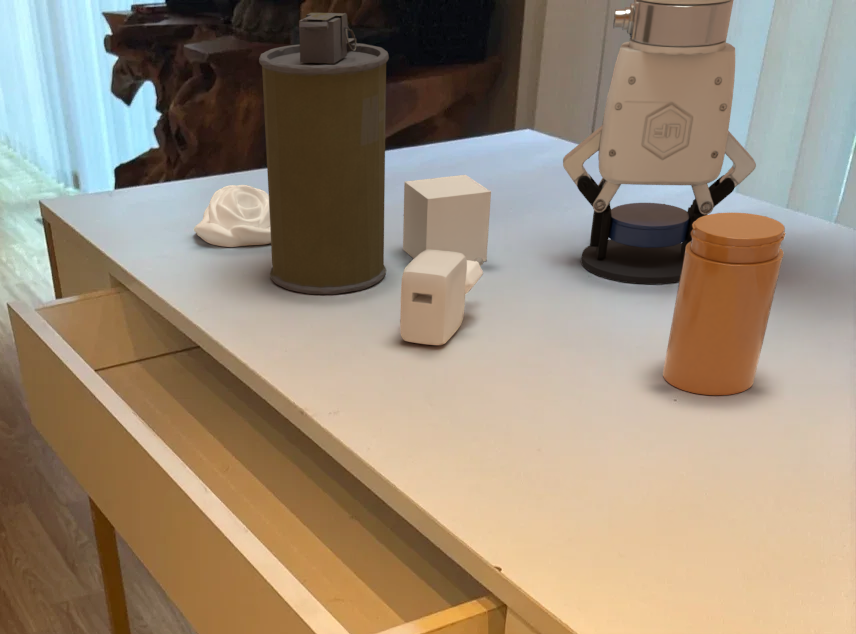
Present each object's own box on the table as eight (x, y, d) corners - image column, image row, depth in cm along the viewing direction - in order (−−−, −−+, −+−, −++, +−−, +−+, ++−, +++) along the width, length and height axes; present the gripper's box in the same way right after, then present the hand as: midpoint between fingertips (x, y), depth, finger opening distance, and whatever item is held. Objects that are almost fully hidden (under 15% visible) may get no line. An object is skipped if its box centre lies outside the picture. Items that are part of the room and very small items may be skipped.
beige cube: (425, 269, 101) (427, 198, 97) (402, 249, 106) (403, 181, 102) (486, 261, 103) (491, 191, 99) (461, 241, 107) (465, 174, 103)
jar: (746, 361, 84) (780, 211, 77) (760, 397, 79) (797, 241, 72) (659, 358, 85) (685, 210, 78) (666, 393, 80) (695, 239, 73)
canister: (366, 299, 96) (367, 28, 83) (253, 289, 98) (236, 24, 86) (400, 259, 103) (406, 5, 91) (294, 250, 106) (285, 3, 93)
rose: (236, 167, 113) (312, 180, 108) (239, 213, 116) (313, 228, 111) (169, 191, 107) (246, 206, 102) (174, 239, 110) (249, 256, 105)
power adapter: (435, 296, 96) (438, 224, 92) (490, 303, 94) (495, 230, 91) (391, 343, 88) (392, 267, 84) (449, 351, 87) (454, 274, 83)
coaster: (699, 245, 104) (700, 238, 104) (712, 285, 96) (714, 278, 96) (579, 242, 106) (580, 236, 105) (582, 282, 98) (583, 275, 97)
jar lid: (602, 223, 102) (605, 202, 101) (679, 223, 102) (683, 202, 101) (610, 247, 97) (614, 226, 96) (692, 248, 96) (696, 226, 95)
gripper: (569, 34, 87) (545, 267, 99) (801, 33, 85) (749, 272, 97) (568, 18, 93) (545, 240, 105) (785, 17, 91) (737, 245, 102)
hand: (643, 254), depth 100 cm, fingers closed on jar lid, 6 cm apart
